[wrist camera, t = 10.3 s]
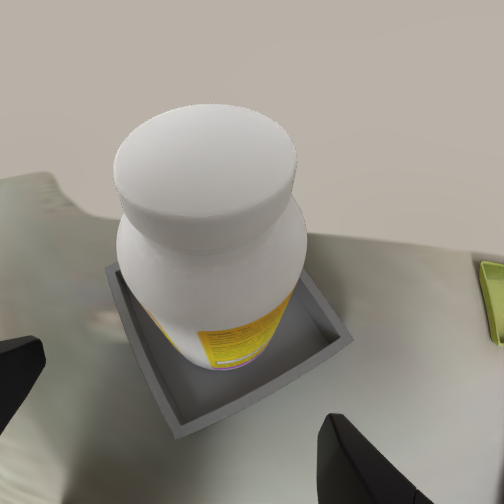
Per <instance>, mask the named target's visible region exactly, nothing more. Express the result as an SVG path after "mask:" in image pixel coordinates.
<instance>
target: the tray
mask: <svg viewBox="0 0 504 504" xmlns="http://www.w3.org/2000/svg"><path fill="white" fill-rule="evenodd" d="M105 271H106V275H107V278H108V281H109V285H110V288H111V291H112V294H113V297H114V300H115V303H116V306H117V309H118V312H119V315H120V318H121V321H122V323H123V326H124V329H125V332H126V334H127V337H128V339H129V342H130V345H131V347H132V350H133V352H134V354H135V357H136V359H137V362H138V364H139V366H140V369H141V371H142V373H143V375H144V378H145V380H146V382H147V384H148V386H149V388H150V391H151V393H152V395H153V397H154V399H155V401H156V403H157V405H158V407H159V409H160V411H161V413H162V415H163V417H164V419H165V420H166V422H167V424H168V426H169V428H170V430H171V431H172V433H173V435H174V437H175V439H176V440H177V439H180V438H182V437H185V436H187V435H189V434H192V433H194V432H196V431H199V430H201V429H203V428H205V427H207V426H210V425H212V424H214V423H216V422H218V421H220V420H222V419H224V418H226V417H228V416H230V415H232V414H234V413H236V412H238V411H240V410H242V409H244V408H246V407H248V406H250V405H252V404H254V403H255V402H257V401H259V400H261V399H263V398H264V397H266V396H268V395H270V394H272V393H273V392H275V391H277V390H279V389H280V388H282V387H284V386H285V385H287V384H289V383H290V382H292V381H294V380H295V379H297V378H299V377H300V376H302V375H303V374H305V373H307V372H308V371H310V370H311V369H313V368H314V367H316V366H317V365H319V364H320V363H322V362H323V361H325V360H326V359H328V358H329V357H331V356H332V355H334V354H335V353H337V352H338V351H340V350H341V349H342V348H344V347H345V346H347V345H348V344H349V343H351V342H352V341H354V339H353V337H352V336H351V334H350V333H349V331H348V330H347V328H346V327H345V326H344V324H343V323H342V321H341V320H340V318H339V317H338V315H337V314H336V313H335V311H334V310H333V308H332V307H331V305H330V304H329V303H328V301H327V300H326V298H325V297H324V295H323V294H322V293H321V291H320V290H319V288H318V287H317V286H316V284H315V283H314V281H313V280H312V279H311V277H310V276H309V274H308V273H307V272H306V270H305V269H304V268H302V271H301V274H300V276H299V279H298V281H297V284H296V286H295V288H294V290H293V293H292V295H291V297H290V299H289V302H288V304H287V306H286V308H285V311H284V313H283V315H282V317H281V319H280V322H279V324H278V326H277V328H276V330H275V332H274V335H273V336H272V338H271V340H270V342H269V344H268V345H267V347H266V348H265V350H264V351H263V352H262V353H261V354H260V355H259V356H258V357H257V358H256V359H254V360H253V361H251V362H250V363H248V364H246V365H244V366H242V367H239V368H235V369H231V370H211V369H206V368H203V367H200V366H198V365H195V364H193V363H192V362H190V361H189V360H187V359H186V358H185V357H184V356H182V355H181V354H180V353H179V352H178V351H177V349H176V348H175V347H174V346H173V345H172V344H171V342H170V341H169V340H168V339H167V337H166V336H165V335H164V334H163V332H162V331H161V330H160V328H159V327H158V326H157V325H156V323H155V322H154V321H153V319H152V318H151V317H150V315H149V314H148V313H147V311H146V310H145V309H144V308H143V306H142V305H141V304H140V303H139V301H138V300H137V299H136V297H135V296H134V294H133V293H132V292H131V290H130V288H129V287H128V285H127V283H126V282H125V280H124V278H123V275H122V273H121V270H120V266H119V263H118V262H117V263H114V264H112V265H110V266H108V267H106V268H105Z"/></svg>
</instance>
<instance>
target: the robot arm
mask: <svg viewBox="0 0 504 504" xmlns="http://www.w3.org/2000/svg"><path fill="white" fill-rule="evenodd" d="M45 364H46V357H45V353H44V349H43V344H42V341H41V340H40V339H38V338H36V337H34V336H25V337H20V338H15V339H9V340H4V341H0V435H1V433H2V432H3V430H4V429H5V427H6V426H7V424H8V423H9V421H10V420H11V419H12V417H13V416H14V414H15V413H16V411H17V410H18V408H19V407H20V406H21V404H22V403H23V401H24V400H25V398H26V397H27V395H28V394H29V392H30V390H31V389H32V387H33V385H34V383H35V382H36V380H37V378H38V377H39V375H40V373H41V372H42V370H43V369H44V367H45ZM317 494H318V504H434V503H433V502H432V501H431V500H430V499H428V498H427V497H426V496H425V495H424V494H423V493H422V492H421V491H420V490H418V489H417V490H416V487H415V486H414V485H413V484H412V483H411V482H410V481H409V480H408V479H407V478H406V477H405V476H404V475H403V474H402V473H401V472H399V471H398V470H397V469H396V468H395V467H394V466H393V465H392V464H391V463H390V462H389V461H388V460H387V459H386V458H385V457H384V456H383V455H382V454H381V453H380V452H379V451H378V450H377V449H376V448H375V447H374V446H373V445H372V444H371V443H370V442H369V441H368V440H367V439H366V438H365V437H364V436H363V435H362V434H361V433H360V432H359V431H358V429H357V428H356V427H355V426H354V425H353V424H352V423H351V422H350V421H349V420H348V419H347V418H346V417H345V416H344V415H343V414H336V413H330V414H328V415H327V416H326V418H325V420H324V422H323V424H322V426H321V429H320V431H319V433H318V440H317Z"/></svg>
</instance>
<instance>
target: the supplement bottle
mask: <svg viewBox="0 0 504 504" xmlns="http://www.w3.org/2000/svg"><path fill="white" fill-rule="evenodd" d="M296 166H297V155H296V149H295V147H294V144H293V141H292V139H291V138H290V136H289V135H288V133H287V132H286V131H285V130H284V129H283V128H282V127H281V126H280V125H279V124H277V123H276V122H275V121H273V120H272V119H270V118H268V117H267V116H265V115H263V114H260V113H258V112H256V111H253V110H250V109H247V108H243V107H238V106H232V105H224V104H200V105H191V106H186V107H181V108H177V109H173V110H170V111H167V112H165V113H163V114H160V115H157V116H155V117H153V118H151V119H150V120H148V121H146V122H145V123H143V124H141V125H140V126H139V127H138V128H136V129H135V130H134V131H132V132H131V134H129V135H128V136H127V138H126V139H125V140H124V141H123V143H122V144H121V145H120V147H119V149H118V151H117V153H116V156H115V159H114V163H113V179H114V183H115V186H116V189H117V192H118V195H119V197H120V201H121V204H122V207H123V210H124V213H123V215H122V218H121V220H120V223H119V227H118V232H117V241H116V248H117V258H118V263H119V266H120V270H121V273H122V275H123V278H124V280H125V282H126V283H127V285H128V287H129V288H130V290H131V292H132V293H133V294H134V296H135V297H136V299H137V300H138V301H139V303H140V304H141V305H142V306H143V308H144V309H145V310H146V311H147V313H148V314H149V315H150V317H151V318H152V319H153V321H154V322H155V323H156V325H157V326H158V327H159V328H160V330H161V331H162V332H163V334H164V335H165V336H166V337H167V339H168V340H169V341H170V342H171V344H172V345H173V346H174V347H175V348H176V349H177V351H178V352H179V353H180V354H181V355H182V356H184V357H185V358H186V359H187V360H189V361H190V362H192V363H193V364H195V365H198V366H200V367H203V368H206V369H211V370H231V369H235V368H239V367H242V366H244V365H246V364H248V363H250V362H251V361H253V360H254V359H256V358H257V357H258V356H259V355H260V354H261V353H262V352H263V351H264V350H265V348H266V347H267V345H268V344H269V342H270V340H271V338H272V336H273V335H274V332H275V330H276V328H277V326H278V324H279V322H280V319H281V317H282V315H283V313H284V311H285V308H286V306H287V304H288V302H289V299H290V297H291V295H292V293H293V290H294V288H295V286H296V284H297V281H298V279H299V276H300V274H301V271H302V268H303V264H304V261H305V257H306V251H307V231H306V225H305V221H304V218H303V215H302V212H301V210H300V208H299V206H298V204H297V202H296V201H295V199H294V197H293V196H292V195H291V192H292V188H293V183H294V178H295V172H296Z"/></svg>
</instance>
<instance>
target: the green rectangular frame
mask: <svg viewBox="0 0 504 504" xmlns="http://www.w3.org/2000/svg"><path fill="white" fill-rule="evenodd" d="M479 281H480V285H481V289H482V293H483V297H484V301H485V306H486V311H487V316H488V321H489V327H490V333H491V339H492V341H493V342H494V343H495V344H497V345H499V346H504V264H499V263H495V262H488V261H481V263H480V269H479Z"/></svg>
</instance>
